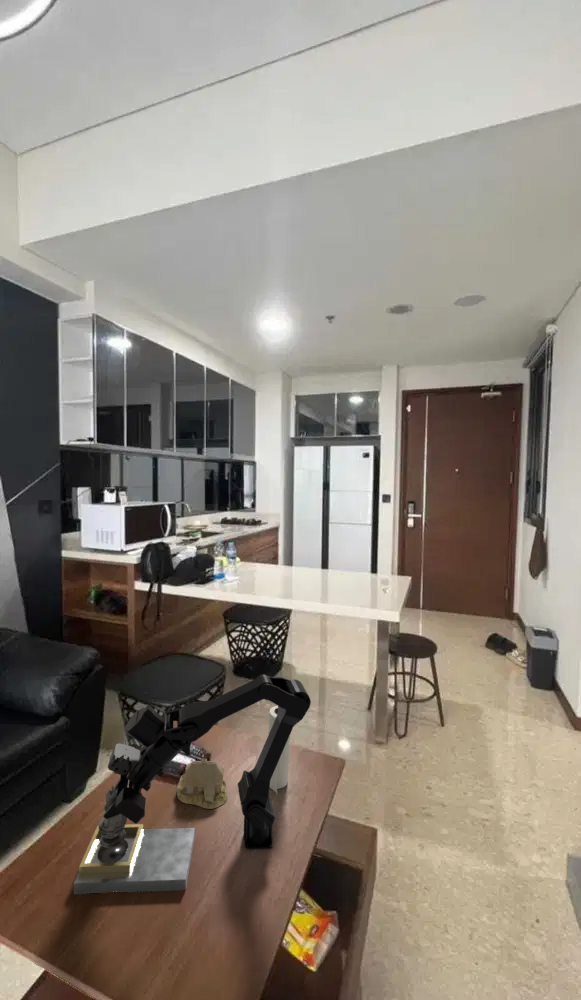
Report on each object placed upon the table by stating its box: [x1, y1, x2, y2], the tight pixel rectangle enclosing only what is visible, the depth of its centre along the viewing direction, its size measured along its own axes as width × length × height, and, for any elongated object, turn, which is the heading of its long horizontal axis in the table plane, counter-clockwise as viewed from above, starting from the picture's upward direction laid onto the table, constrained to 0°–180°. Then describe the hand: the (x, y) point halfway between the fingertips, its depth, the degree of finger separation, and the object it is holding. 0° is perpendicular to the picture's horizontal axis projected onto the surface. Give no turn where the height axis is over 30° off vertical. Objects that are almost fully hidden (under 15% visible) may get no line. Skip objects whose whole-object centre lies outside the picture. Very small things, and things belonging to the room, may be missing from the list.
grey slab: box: [73, 823, 196, 895], centre depth 96 cm, size 23×13×4 cm, turn 94°
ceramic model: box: [176, 757, 228, 810], centre depth 118 cm, size 14×11×10 cm
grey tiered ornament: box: [98, 785, 128, 848], centre depth 95 cm, size 6×6×12 cm
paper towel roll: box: [268, 705, 291, 795], centre depth 122 cm, size 7×6×21 cm
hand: (106, 810), depth 95 cm, fingers closed on grey tiered ornament, 4 cm apart
